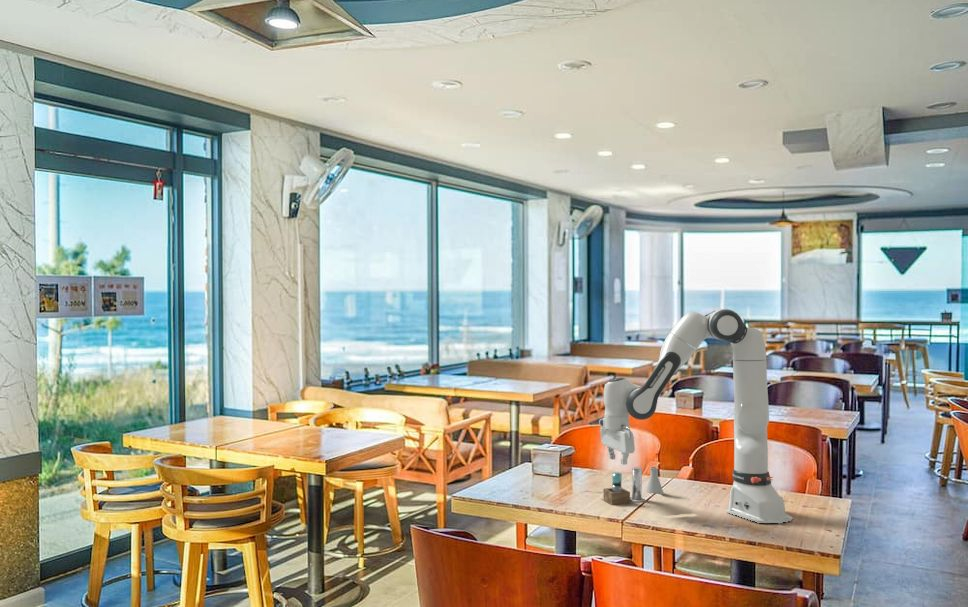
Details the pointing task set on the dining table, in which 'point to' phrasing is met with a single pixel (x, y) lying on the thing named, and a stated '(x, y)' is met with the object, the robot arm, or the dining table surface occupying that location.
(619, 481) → the small bottle
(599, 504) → the dining table surface
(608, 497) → the box
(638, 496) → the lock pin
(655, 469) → the flask
